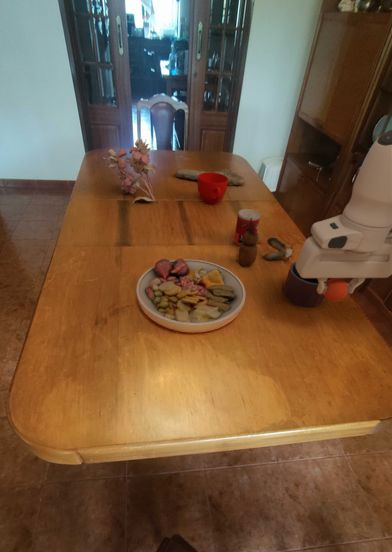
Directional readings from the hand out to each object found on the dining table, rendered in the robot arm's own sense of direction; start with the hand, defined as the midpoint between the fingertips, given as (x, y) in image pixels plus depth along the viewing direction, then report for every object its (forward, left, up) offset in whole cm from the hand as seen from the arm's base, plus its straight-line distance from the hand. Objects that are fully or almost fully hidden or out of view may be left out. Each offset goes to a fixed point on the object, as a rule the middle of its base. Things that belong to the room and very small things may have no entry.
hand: (333, 292), depth 70 cm
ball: (0, 0, +1) cm, 1 cm away
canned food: (+8, -52, -17) cm, 56 cm away
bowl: (+30, -17, -17) cm, 38 cm away
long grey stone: (+14, -115, -17) cm, 118 cm away
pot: (-5, -21, -17) cm, 28 cm away
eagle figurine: (-2, -42, -17) cm, 46 cm away
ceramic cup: (+16, -87, -17) cm, 91 cm away
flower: (+50, -91, -17) cm, 105 cm away
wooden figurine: (+10, -38, -17) cm, 43 cm away
